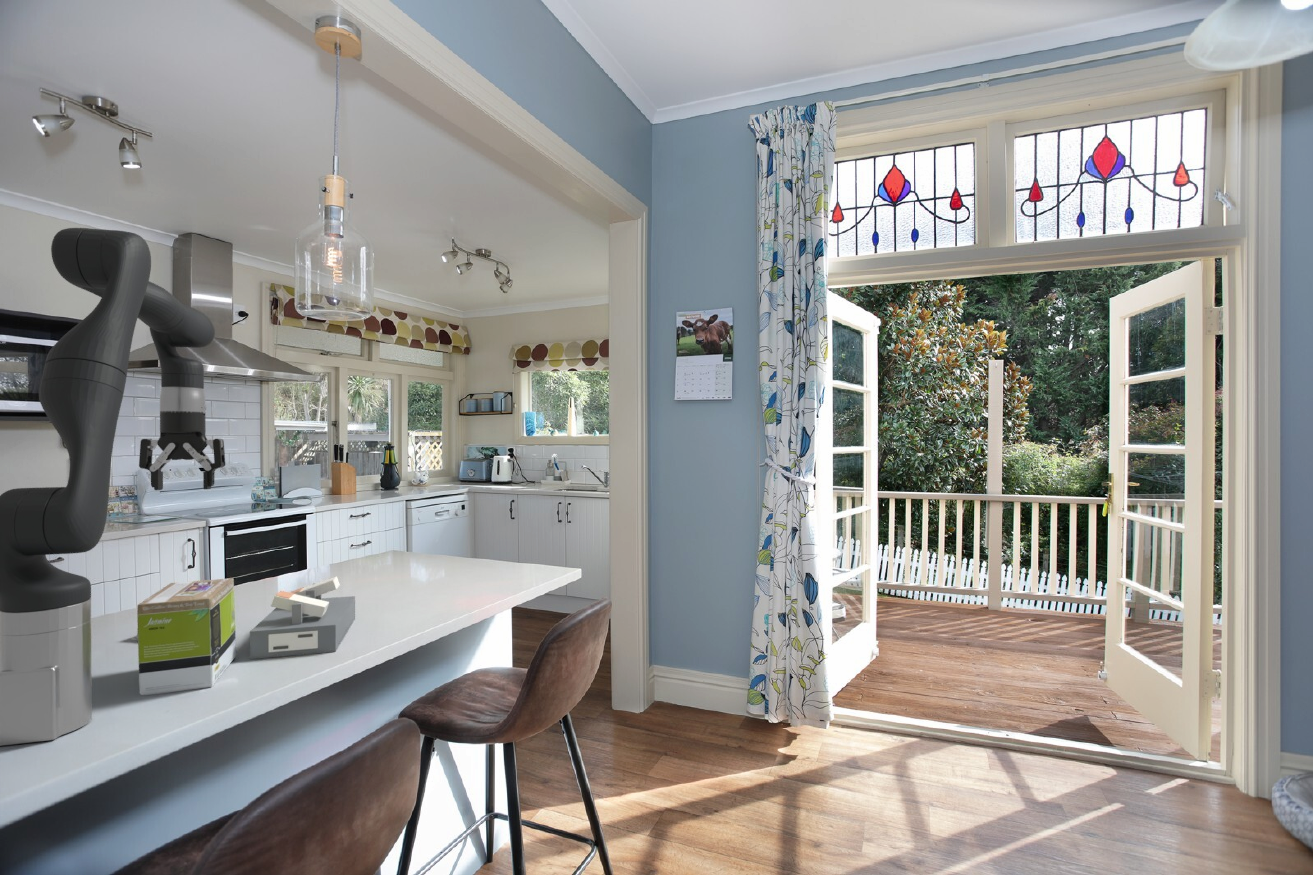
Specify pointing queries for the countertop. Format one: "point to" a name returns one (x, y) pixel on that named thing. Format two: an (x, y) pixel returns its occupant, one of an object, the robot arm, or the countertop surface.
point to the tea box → (186, 636)
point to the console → (302, 629)
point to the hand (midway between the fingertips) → (183, 489)
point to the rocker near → (308, 604)
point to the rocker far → (319, 587)
